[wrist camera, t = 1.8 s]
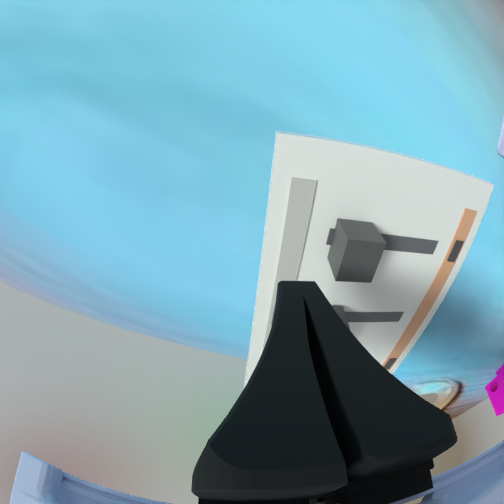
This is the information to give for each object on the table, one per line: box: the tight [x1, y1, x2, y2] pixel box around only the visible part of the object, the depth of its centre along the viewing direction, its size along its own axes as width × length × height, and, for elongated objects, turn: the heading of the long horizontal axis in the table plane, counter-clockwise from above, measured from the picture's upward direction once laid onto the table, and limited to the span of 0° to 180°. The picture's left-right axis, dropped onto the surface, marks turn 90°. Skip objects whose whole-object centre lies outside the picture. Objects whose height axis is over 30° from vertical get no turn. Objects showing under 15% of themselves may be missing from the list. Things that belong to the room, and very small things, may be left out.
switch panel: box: [244, 131, 494, 388], centre depth 19 cm, size 14×22×2 cm, turn 175°
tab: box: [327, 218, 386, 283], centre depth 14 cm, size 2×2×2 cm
